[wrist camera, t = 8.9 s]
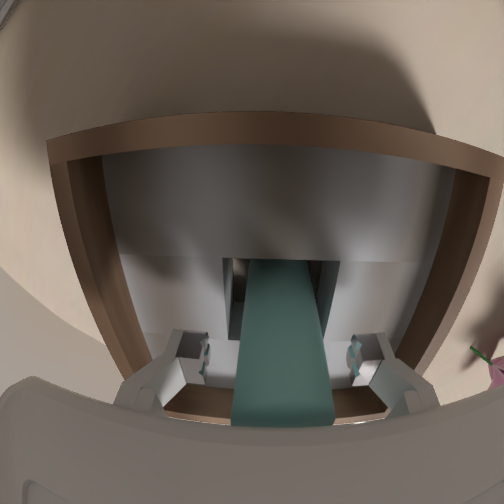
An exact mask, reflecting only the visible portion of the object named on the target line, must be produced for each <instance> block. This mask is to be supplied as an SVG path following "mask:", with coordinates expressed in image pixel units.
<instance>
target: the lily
mask: <svg viewBox="0 0 504 504" xmlns="http://www.w3.org/2000/svg"><path fill="white" fill-rule="evenodd" d="M470 349H471V350H473V351H474V352H475V353H476V354H477V355H479V356H480V357H481V358H482V359H484V360H485V361H486V362H487V363H488V367H489V372H490V377H491V380H492V379H493V380H492V382H491V384H490V386H489V388H488V390H489V389H491V388H494V387H496V386H499V385H501V384H504V359H503V358H504V356H501V357H497V358H495V359H492V360H490V361H489V360H488V359H487V358H485V357H484V356H483V355H482V354H481V353H479V352H478V351H477V350H476V349H474V348H473V347H472V346H471V348H470Z"/></svg>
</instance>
